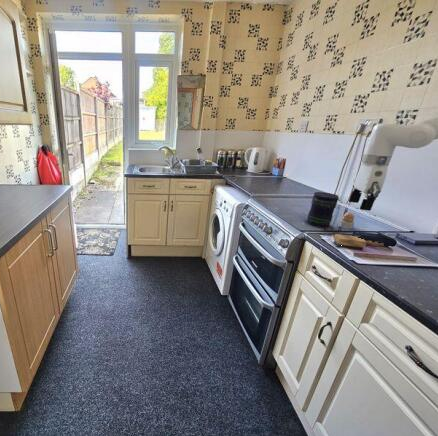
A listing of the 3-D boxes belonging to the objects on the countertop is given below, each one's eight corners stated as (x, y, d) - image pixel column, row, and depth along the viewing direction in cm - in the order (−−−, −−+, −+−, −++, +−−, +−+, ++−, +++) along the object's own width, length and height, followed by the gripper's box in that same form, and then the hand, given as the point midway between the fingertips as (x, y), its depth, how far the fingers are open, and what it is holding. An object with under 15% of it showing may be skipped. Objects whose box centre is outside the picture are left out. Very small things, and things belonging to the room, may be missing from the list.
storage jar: (302, 219, 126) (309, 191, 121) (322, 220, 126) (331, 192, 120) (312, 227, 117) (321, 197, 112) (334, 228, 116) (344, 198, 111)
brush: (377, 248, 98) (381, 239, 96) (384, 254, 94) (388, 244, 92) (332, 242, 102) (335, 233, 101) (336, 247, 98) (339, 238, 97)
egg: (349, 225, 121) (354, 211, 118) (354, 229, 116) (359, 215, 113) (336, 223, 122) (340, 210, 120) (340, 227, 117) (345, 214, 115)
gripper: (403, 165, 79) (383, 214, 85) (375, 158, 94) (360, 200, 100) (375, 163, 81) (357, 211, 87) (352, 156, 96) (338, 198, 102)
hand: (358, 205), depth 94 cm, fingers open, 9 cm apart
